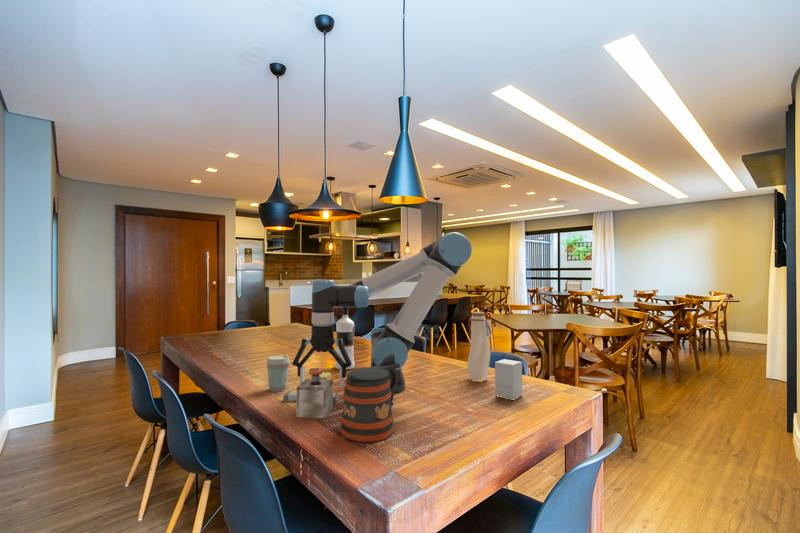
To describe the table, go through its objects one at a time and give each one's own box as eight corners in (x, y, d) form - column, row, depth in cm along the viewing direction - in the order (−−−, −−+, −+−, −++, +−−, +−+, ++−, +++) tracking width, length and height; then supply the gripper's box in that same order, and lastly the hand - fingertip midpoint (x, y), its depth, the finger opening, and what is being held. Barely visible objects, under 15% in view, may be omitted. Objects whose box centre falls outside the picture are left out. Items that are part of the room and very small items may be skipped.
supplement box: (523, 397, 138) (523, 361, 139) (513, 401, 133) (513, 364, 133) (504, 392, 143) (504, 358, 144) (494, 397, 138) (494, 361, 138)
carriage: (330, 397, 135) (331, 372, 135) (326, 402, 129) (327, 377, 129) (316, 396, 135) (317, 372, 135) (311, 402, 129) (312, 376, 129)
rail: (338, 398, 134) (339, 392, 134) (335, 403, 129) (335, 397, 129) (288, 397, 135) (288, 391, 135) (283, 401, 130) (283, 395, 130)
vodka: (338, 365, 184) (339, 302, 185) (357, 366, 183) (357, 302, 183) (331, 369, 175) (332, 303, 176) (351, 370, 173) (351, 304, 174)
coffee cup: (282, 393, 139) (283, 360, 139) (261, 392, 141) (261, 359, 141) (293, 387, 147) (294, 355, 148) (273, 385, 149) (273, 354, 149)
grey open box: (332, 407, 125) (333, 379, 125) (325, 418, 116) (326, 387, 116) (305, 407, 125) (305, 379, 125) (296, 417, 116) (296, 387, 116)
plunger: (323, 385, 122) (323, 368, 123) (320, 388, 118) (320, 371, 119) (311, 384, 123) (311, 367, 123) (307, 388, 119) (307, 371, 119)
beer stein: (374, 413, 120) (375, 349, 120) (413, 425, 111) (413, 355, 111) (329, 433, 104) (330, 359, 105) (369, 448, 96) (370, 367, 96)
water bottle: (495, 379, 162) (495, 312, 162) (487, 384, 154) (488, 314, 155) (472, 375, 167) (472, 311, 168) (464, 380, 159) (464, 312, 160)
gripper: (360, 323, 136) (359, 384, 135) (291, 322, 137) (289, 382, 136) (356, 326, 128) (355, 390, 128) (283, 325, 129) (282, 388, 129)
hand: (321, 386), depth 132 cm, fingers open, 13 cm apart
